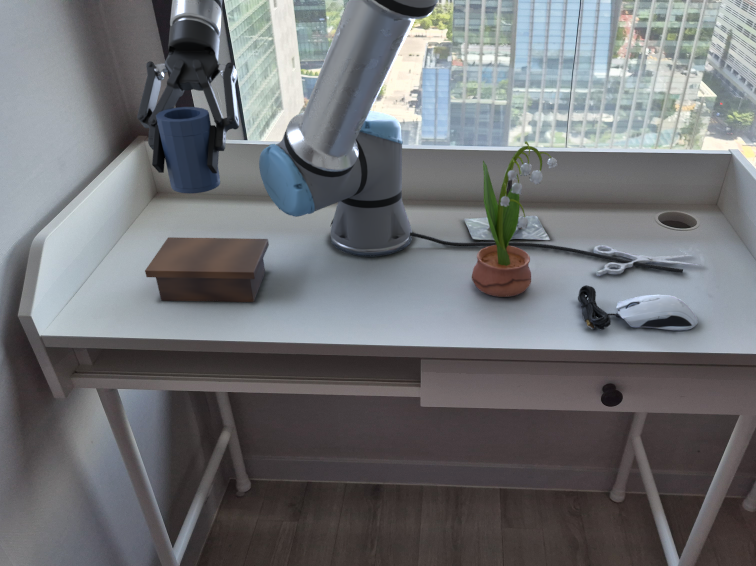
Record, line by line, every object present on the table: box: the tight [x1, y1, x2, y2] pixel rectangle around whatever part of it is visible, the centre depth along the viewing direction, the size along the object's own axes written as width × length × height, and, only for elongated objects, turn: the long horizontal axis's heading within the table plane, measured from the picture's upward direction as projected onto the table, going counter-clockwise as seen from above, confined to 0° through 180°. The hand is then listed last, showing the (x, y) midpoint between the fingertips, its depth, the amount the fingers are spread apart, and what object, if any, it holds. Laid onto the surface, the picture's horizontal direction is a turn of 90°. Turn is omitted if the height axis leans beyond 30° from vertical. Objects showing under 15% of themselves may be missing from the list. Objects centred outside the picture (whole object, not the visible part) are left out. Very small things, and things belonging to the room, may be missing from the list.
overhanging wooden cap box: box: [144, 236, 270, 303], centre depth 114 cm, size 17×12×6 cm
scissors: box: [593, 245, 700, 277], centre depth 125 cm, size 11×1×20 cm
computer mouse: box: [577, 284, 699, 331], centre depth 108 cm, size 10×18×4 cm, turn 88°
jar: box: [156, 106, 221, 194], centre depth 108 cm, size 8×8×11 cm
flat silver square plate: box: [463, 179, 551, 241], centre depth 131 cm, size 15×10×13 cm
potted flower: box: [471, 140, 559, 298], centre depth 110 cm, size 12×10×25 cm
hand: (185, 168), depth 106 cm, fingers closed on jar, 8 cm apart
